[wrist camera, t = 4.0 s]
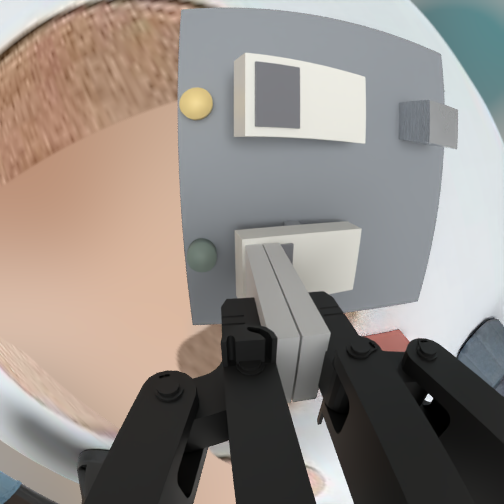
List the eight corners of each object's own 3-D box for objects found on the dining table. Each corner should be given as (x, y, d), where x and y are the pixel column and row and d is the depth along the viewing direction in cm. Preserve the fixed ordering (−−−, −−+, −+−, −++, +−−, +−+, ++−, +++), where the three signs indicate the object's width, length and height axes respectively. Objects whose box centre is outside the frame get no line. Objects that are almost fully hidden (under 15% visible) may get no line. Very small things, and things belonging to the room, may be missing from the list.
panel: (194, 304, 20) (192, 335, 17) (185, 25, 13) (179, 1, 10) (401, 286, 22) (425, 308, 19) (420, 59, 15) (450, 51, 12)
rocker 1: (233, 137, 12) (246, 136, 10) (233, 61, 10) (246, 51, 9) (347, 142, 14) (367, 143, 13) (347, 79, 13) (367, 76, 11)
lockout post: (398, 139, 15) (429, 142, 12) (398, 102, 14) (429, 99, 11) (426, 144, 15) (456, 149, 12) (426, 110, 14) (457, 109, 11)
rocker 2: (236, 295, 15) (243, 311, 14) (234, 230, 14) (242, 240, 12) (339, 278, 17) (354, 290, 15) (347, 221, 15) (363, 229, 14)
